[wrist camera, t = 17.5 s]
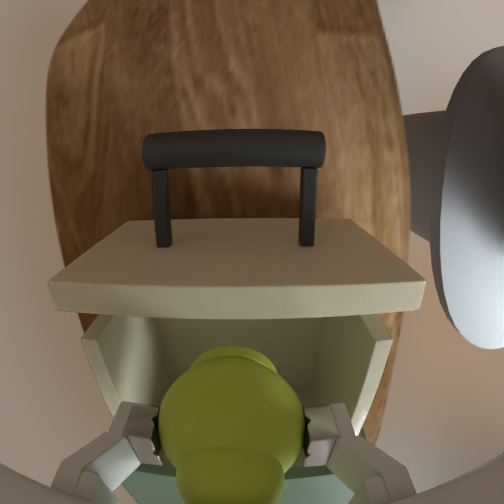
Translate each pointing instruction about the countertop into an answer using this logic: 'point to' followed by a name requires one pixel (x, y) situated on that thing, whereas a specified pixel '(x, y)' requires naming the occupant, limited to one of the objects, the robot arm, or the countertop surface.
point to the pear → (231, 428)
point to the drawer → (238, 284)
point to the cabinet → (292, 500)
